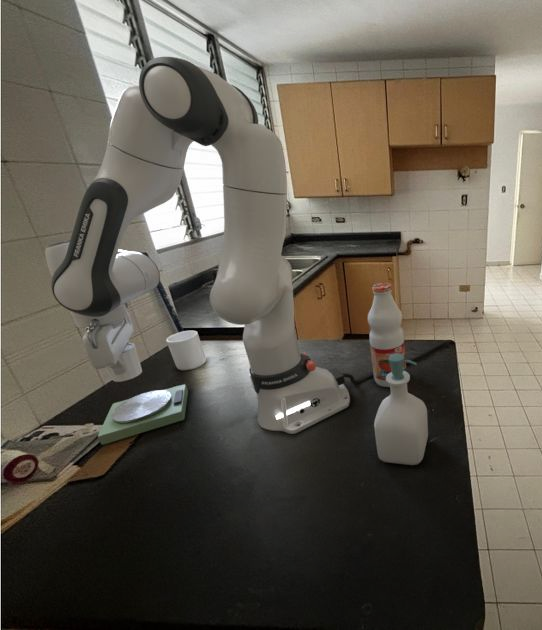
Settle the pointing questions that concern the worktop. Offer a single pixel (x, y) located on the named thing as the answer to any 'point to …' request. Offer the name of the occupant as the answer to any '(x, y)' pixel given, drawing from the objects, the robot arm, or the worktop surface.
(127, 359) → the white cylindrical container
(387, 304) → the fruit juice
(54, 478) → the worktop surface
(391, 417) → the soap bottle
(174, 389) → the scale
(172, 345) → the cup
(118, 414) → the scale pan
